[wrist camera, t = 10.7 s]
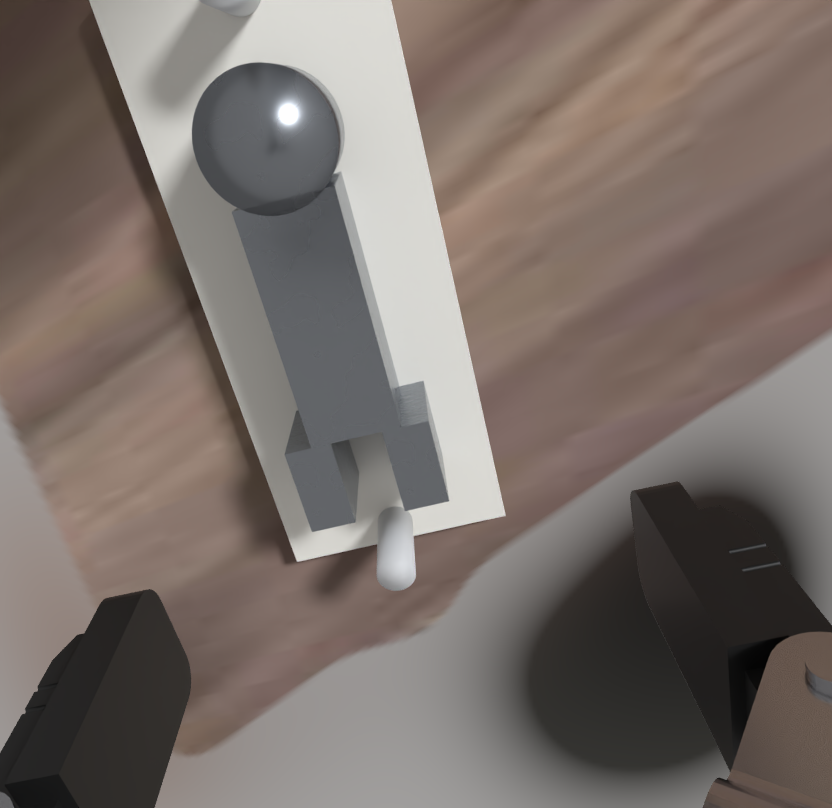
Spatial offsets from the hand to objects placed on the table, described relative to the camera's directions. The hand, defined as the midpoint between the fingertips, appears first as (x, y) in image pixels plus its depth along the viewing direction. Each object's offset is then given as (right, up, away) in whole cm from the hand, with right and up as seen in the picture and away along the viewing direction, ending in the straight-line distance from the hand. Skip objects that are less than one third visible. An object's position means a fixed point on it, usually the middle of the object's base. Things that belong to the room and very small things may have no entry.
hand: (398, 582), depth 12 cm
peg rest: (-3, +8, +18) cm, 20 cm away
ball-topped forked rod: (-3, +7, +17) cm, 19 cm away
